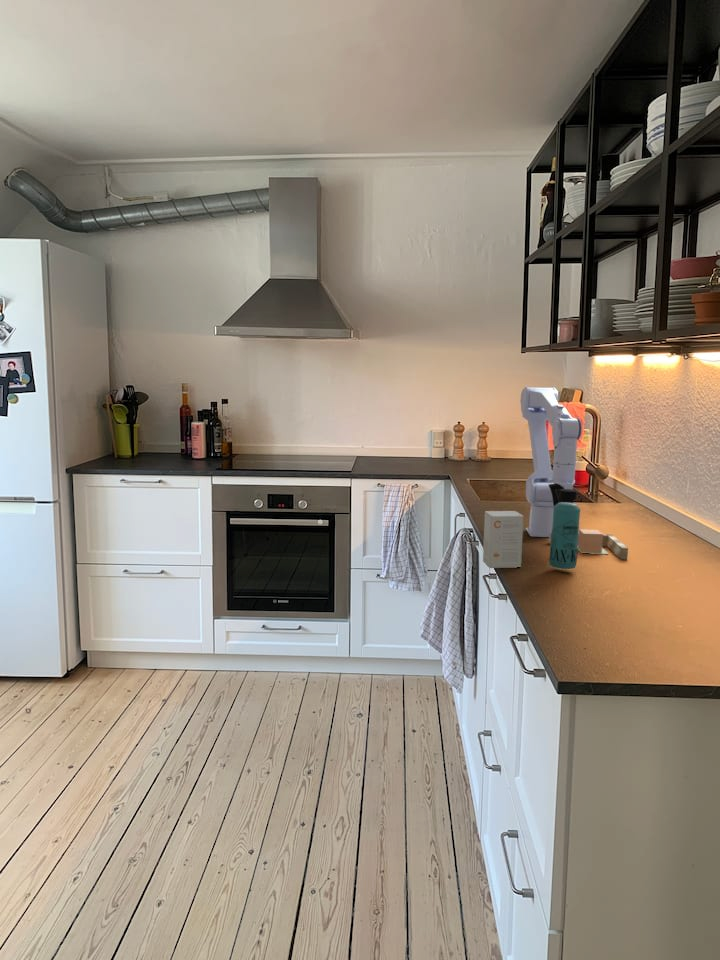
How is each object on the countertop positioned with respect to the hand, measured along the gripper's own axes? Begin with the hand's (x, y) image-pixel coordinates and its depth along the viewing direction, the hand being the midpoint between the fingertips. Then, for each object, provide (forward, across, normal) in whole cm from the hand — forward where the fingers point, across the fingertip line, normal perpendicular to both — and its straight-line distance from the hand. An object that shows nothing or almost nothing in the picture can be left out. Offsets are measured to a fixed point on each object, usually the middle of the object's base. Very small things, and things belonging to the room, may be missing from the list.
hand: (561, 513), depth 194 cm
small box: (+10, +20, -18) cm, 29 cm away
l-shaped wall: (+9, +4, +6) cm, 12 cm away
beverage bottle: (+10, +24, -4) cm, 26 cm away
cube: (+9, +3, +8) cm, 12 cm away
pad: (+9, +3, +8) cm, 13 cm away
